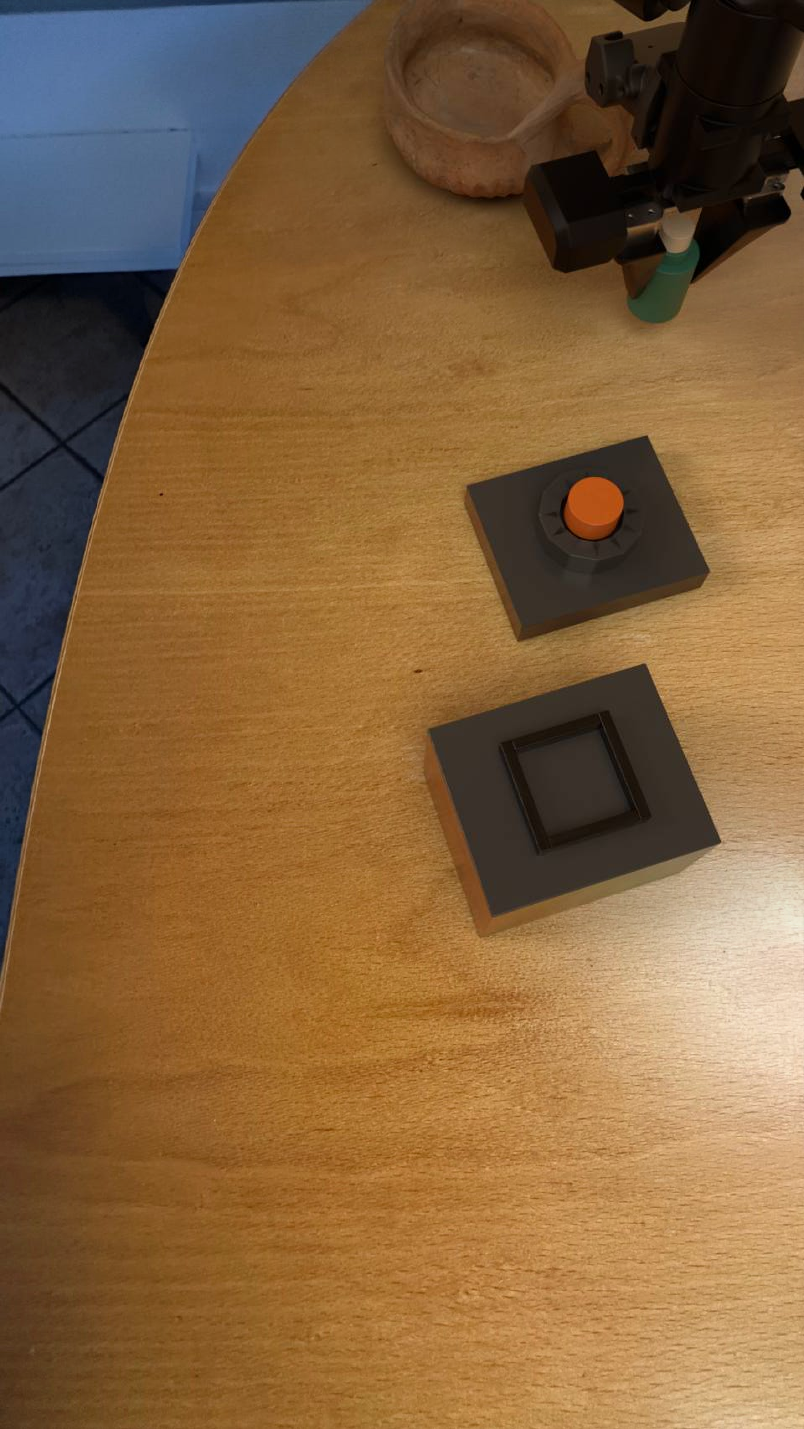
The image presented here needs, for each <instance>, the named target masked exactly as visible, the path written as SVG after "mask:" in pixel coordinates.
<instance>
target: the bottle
mask: <svg viewBox="0 0 804 1429" xmlns="http://www.w3.org/2000/svg"><path fill="white" fill-rule="evenodd" d="M695 227H696V222H695V220H694V219H693V218H692V216H690V215H688V214H687V213H685V212H683V213H679V211H678V212H670V213H669V214H667V215H666V216H664V218H662V220H661V223H660V227H659V228H658V229H657V231H658V233H659V235H660V237H661V239H662V241H663V243H664V245H665V247H666V249H667V252H666V254H665V256H664V258H663V259H662V261H661V263H660V264H659V266H658V268H657V269H656V271H655V273H654V275H653V276H652V278H651V280H650V281H649V283H648V285H647V287H646V288H645V290H644V291H643V292H642V293H641V295H640V296H639V297H638V298H637V299H634V300H631V298H630V296H629V294H628V292H627V294H626V305H627V308H628V310H629V311H630V312H631V314H632V315H633V316H634V317H635V318H637V319H638V320H641V321H643V322H645V323H647V324H655V325H657V324H659V325H660V324H665V323H668V322H670V321H672V320H673V319H674V318H676V317H677V316H678V315H679V313H680V311H681V309H682V307H683V304H684V301H685V298H686V295H687V293H688V290H689V287H690V285H691V284H690V282H691V279H692V277H693V274H694V271H695V268H696V266H697V263H698V260H699V256H700V251H699V247H698V244H697V242H696V241H695V239H694V238H693V234H694V231H695Z"/></svg>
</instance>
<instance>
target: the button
mask: <svg viewBox="0 0 804 1429" xmlns="http://www.w3.org/2000/svg"><path fill="white" fill-rule="evenodd" d="M623 505H624V501H623V496H622V494H621V492H620V490H619V489H618V487H617V486H616V485H615V484H613V483H612V482H611V481H609V480H607V479H604V478H600V477H589V478H585V479H582V480H580V481H579V482H577V483H576V484H575V485H574V486H573V487H572V489H571V490H570V493H569V496H568V499H567V503H566V506H565V510H564V519H565V522H566V524H567V526H568V528H569V529H570V530H571V531H572V532H573V533H574V534H576V535H577V536H579V537H581V538H584V539H590V540H595V539H601V538H603V537H606V536H607V535H609V534H610V533H611V532H612V531H613V530H614V529H615V527H616V525H617V522H618V520H619V517H620V515H621V512H622V510H623Z"/></svg>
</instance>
